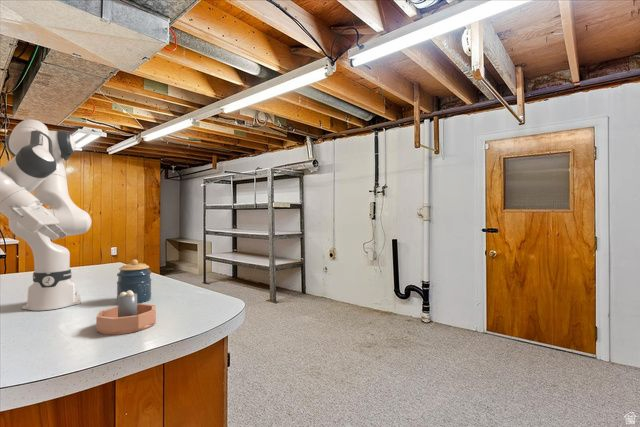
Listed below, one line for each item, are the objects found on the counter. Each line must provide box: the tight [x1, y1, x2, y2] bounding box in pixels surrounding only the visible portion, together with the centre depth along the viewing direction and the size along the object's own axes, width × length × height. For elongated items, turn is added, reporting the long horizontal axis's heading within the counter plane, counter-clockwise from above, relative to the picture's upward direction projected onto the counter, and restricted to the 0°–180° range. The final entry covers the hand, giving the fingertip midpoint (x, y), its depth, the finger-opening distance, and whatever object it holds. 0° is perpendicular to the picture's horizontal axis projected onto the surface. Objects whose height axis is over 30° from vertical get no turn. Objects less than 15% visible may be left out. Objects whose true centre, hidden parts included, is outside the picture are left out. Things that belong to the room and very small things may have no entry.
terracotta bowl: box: [95, 303, 157, 336], centre depth 109 cm, size 16×16×5 cm
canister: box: [116, 259, 153, 304], centre depth 141 cm, size 13×13×18 cm
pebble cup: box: [117, 290, 138, 317], centre depth 109 cm, size 6×6×10 cm
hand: (61, 237), depth 103 cm, fingers open, 8 cm apart
